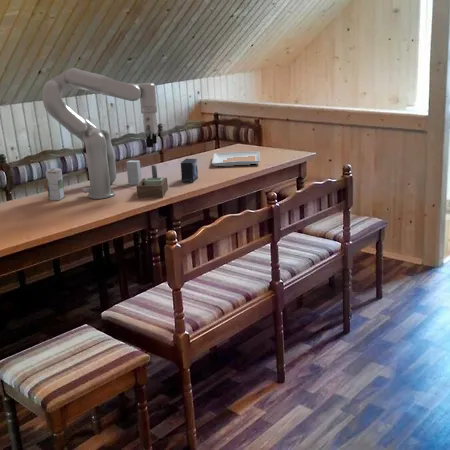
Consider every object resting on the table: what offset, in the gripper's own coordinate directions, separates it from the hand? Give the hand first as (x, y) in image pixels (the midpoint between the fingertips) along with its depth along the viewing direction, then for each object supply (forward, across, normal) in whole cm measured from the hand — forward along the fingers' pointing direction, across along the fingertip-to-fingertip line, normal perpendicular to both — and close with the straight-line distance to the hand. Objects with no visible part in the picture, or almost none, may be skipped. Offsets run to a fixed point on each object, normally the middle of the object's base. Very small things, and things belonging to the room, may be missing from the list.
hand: (151, 145), depth 303 cm
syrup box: (+22, -12, +46) cm, 52 cm away
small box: (+22, +17, -15) cm, 32 cm away
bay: (+22, -8, 0) cm, 23 cm away
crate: (+21, -3, 0) cm, 21 cm away
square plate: (+22, +58, -37) cm, 72 cm away
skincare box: (+22, +13, +13) cm, 29 cm away
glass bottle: (+22, +15, +28) cm, 39 cm away
